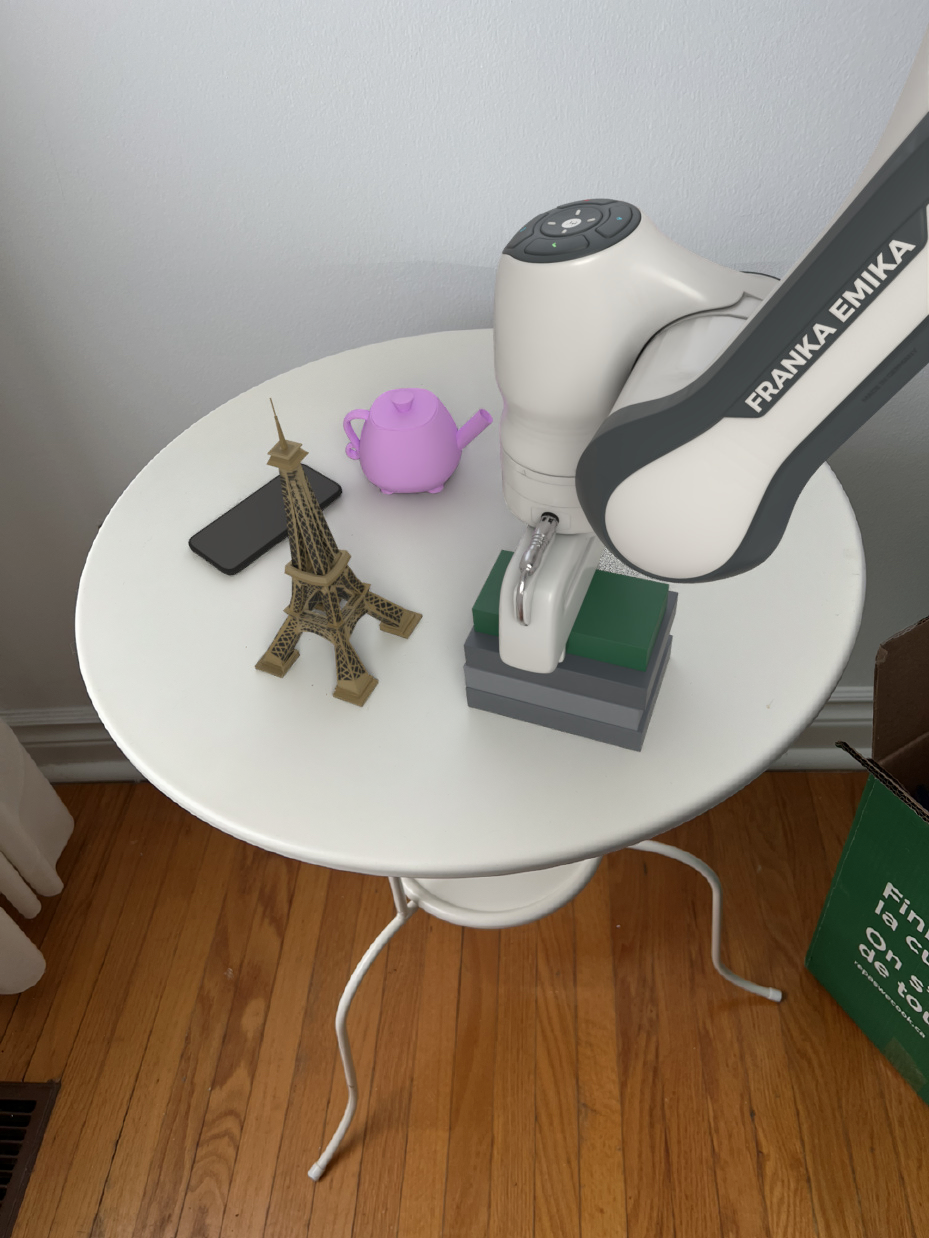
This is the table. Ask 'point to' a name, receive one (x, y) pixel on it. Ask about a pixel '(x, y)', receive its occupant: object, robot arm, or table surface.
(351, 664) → the eiffel tower
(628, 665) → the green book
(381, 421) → the teapot
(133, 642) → the table surface
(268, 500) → the smartphone
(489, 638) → the grey stack
